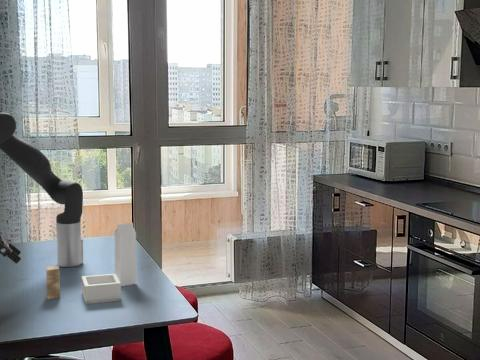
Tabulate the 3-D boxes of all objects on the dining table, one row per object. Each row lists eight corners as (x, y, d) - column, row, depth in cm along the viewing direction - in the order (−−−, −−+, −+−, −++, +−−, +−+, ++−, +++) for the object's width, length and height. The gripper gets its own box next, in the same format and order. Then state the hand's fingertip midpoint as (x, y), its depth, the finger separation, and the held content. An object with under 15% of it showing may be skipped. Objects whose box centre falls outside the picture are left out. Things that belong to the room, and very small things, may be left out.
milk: (136, 284, 219) (136, 224, 216) (119, 286, 216) (119, 225, 213) (130, 279, 224) (130, 221, 221) (114, 281, 221) (114, 222, 218)
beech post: (47, 299, 202) (46, 269, 200) (46, 295, 205) (46, 266, 204) (60, 298, 203) (59, 268, 202) (59, 294, 207) (58, 265, 205)
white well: (85, 304, 197) (85, 286, 197) (81, 293, 208) (81, 276, 207) (120, 300, 201) (120, 283, 201) (115, 290, 212) (115, 273, 211)
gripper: (-13, 221, 187) (27, 254, 193) (-12, 212, 200) (26, 244, 206) (-32, 239, 186) (10, 272, 192) (-28, 229, 199) (10, 260, 205)
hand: (18, 257), depth 199 cm, fingers open, 8 cm apart
